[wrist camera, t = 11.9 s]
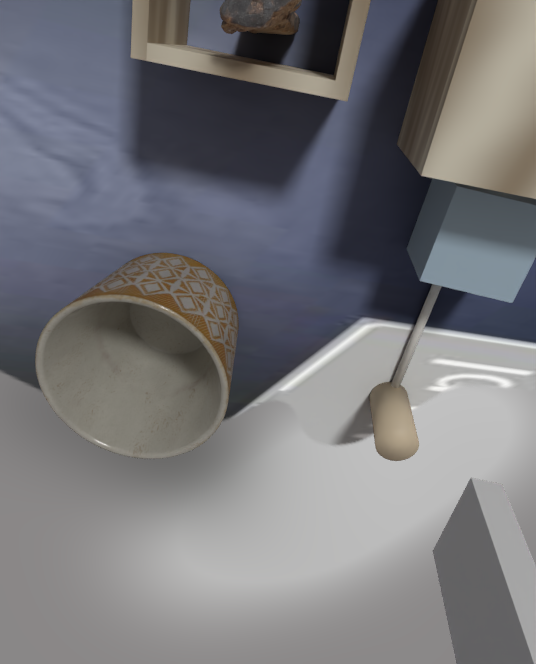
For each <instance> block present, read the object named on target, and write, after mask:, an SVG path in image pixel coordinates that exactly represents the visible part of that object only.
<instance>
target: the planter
mask: <svg viewBox="0 0 536 664" xmlns="http://www.w3.org/2000/svg"><path fill="white" fill-rule="evenodd" d="M237 334H238V313H237V309H236V305H235V302H234V299H233V297H232V295H231V293H230V291H229V290H228V288H227V287H226V285H225V284H224V283H223V281H222V280H221V279H220V278H219V277H218V276H217V275H216V274H215V273H214V272H213V271H211V270H210V269H209V268H207V267H206V266H204V265H203V264H201V263H199V262H197V261H195V260H193V259H191V258H188V257H185V256H182V255H178V254H172V253H153V254H148V255H144V256H140V257H138V258H135V259H133V260H131V261H129V262H128V263H126V264H124V265H123V266H122V267H120V268H119V269H117V270H116V271H115V272H113V273H112V274H110V275H109V276H108V277H106V278H105V279H103V280H102V281H101V282H99V283H98V284H96V285H95V286H94V287H92V288H91V289H89V290H88V291H87V292H85V293H84V294H82V295H81V296H80V297H78V298H77V299H75V300H74V301H73V302H71V303H70V304H68V305H67V306H66V307H64V308H63V309H61V310H60V311H59V312H58V313H56V314H55V315H54V316H53V317H52V318H51V319H50V321H49V322H48V323H47V324H46V326H45V327H44V329H43V331H42V333H41V335H40V337H39V340H38V343H37V348H36V356H35V365H36V373H37V378H38V381H39V384H40V387H41V390H42V392H43V394H44V396H45V397H46V400H47V401H48V403H49V405H50V406H51V408H52V409H53V410H54V412H55V413H56V414H57V415H58V416H59V418H60V419H61V420H62V421H63V422H64V423H65V424H66V425H67V426H69V427H70V428H71V429H72V430H73V431H74V432H76V433H77V434H78V435H80V436H81V437H83V438H84V439H86V440H87V441H89V442H91V443H93V444H94V445H97V446H98V447H100V448H103V449H105V450H108V451H110V452H113V453H117V454H120V455H124V456H128V457H134V458H142V459H143V458H144V459H159V458H168V457H173V456H177V455H181V454H184V453H186V452H189V451H190V450H193V449H195V448H196V447H198V446H200V445H201V444H203V443H204V442H205V441H207V440H208V439H209V438H210V437H211V436H212V435H213V434H214V433H215V431H216V430H217V428H218V427H219V426H220V424H221V422H222V420H223V418H224V416H225V413H226V410H227V405H228V399H229V391H230V384H231V377H232V370H233V363H234V356H235V349H236V342H237Z"/></svg>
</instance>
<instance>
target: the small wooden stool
mask: <svg viewBox="0 0 536 664" xmlns="http://www.w3.org/2000/svg"><path fill="white" fill-rule="evenodd" d="M397 145H398V146H399V148H400V149H401V150H402V152H403V153H404V154H405V155H406V157H407V158H408V159H409V161H410V162H411V163H412V165H413V166H414V167H415V168H416V170H417V171H418V172H419V174H420V175H421V176H425V177H430V178H435V179H439V180H444V181H449V182H454V183H459V184H464V185H469V186H474V187H479V188H484V189H489V190H494V191H499V192H504V193H509V194H514V195H518V196H523V197H528V198H533V199H536V0H438V2H437V6H436V9H435V13H434V16H433V20H432V23H431V27H430V30H429V34H428V37H427V41H426V44H425V48H424V51H423V55H422V58H421V62H420V65H419V69H418V72H417V76H416V79H415V83H414V86H413V90H412V93H411V96H410V100H409V103H408V107H407V110H406V114H405V117H404V121H403V124H402V128H401V131H400V135H399V138H398V142H397Z"/></svg>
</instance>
